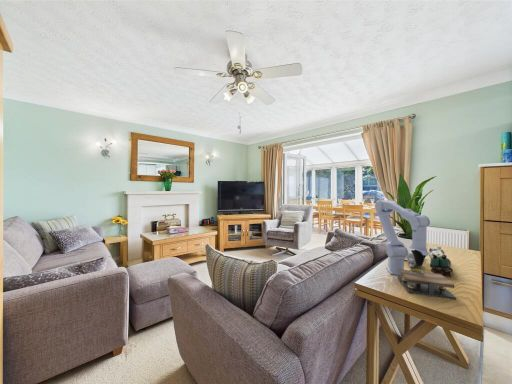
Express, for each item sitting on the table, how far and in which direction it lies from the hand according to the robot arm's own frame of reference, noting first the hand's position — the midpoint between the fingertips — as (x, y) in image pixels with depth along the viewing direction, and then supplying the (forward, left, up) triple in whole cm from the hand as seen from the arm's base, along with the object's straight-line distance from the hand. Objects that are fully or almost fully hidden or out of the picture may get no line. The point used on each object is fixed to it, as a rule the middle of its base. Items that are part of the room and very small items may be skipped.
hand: (419, 265), depth 104 cm
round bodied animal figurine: (-29, +7, -11) cm, 32 cm away
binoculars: (-19, +18, -11) cm, 28 cm away
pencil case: (-35, +23, -11) cm, 44 cm away
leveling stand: (+4, +1, -10) cm, 11 cm away
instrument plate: (+4, +1, -6) cm, 7 cm away
